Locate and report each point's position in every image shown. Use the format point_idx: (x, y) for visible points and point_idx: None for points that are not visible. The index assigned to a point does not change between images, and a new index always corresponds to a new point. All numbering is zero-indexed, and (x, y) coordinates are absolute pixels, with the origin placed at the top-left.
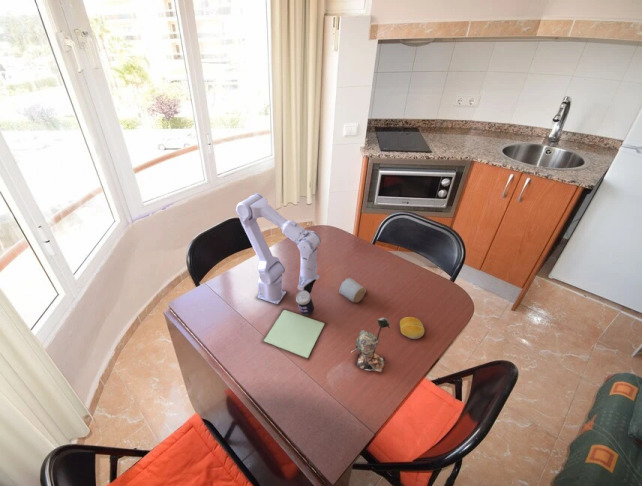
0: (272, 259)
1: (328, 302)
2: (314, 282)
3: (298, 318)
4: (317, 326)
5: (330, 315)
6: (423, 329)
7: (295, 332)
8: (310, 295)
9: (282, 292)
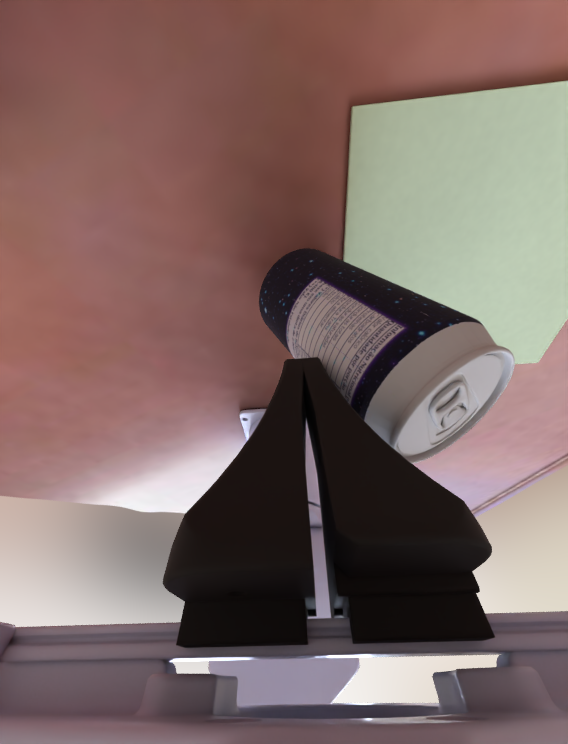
0: (265, 698)
1: (142, 193)
2: (381, 539)
3: None
4: (400, 152)
5: (245, 102)
6: None
7: (477, 265)
8: (404, 358)
9: (252, 420)
